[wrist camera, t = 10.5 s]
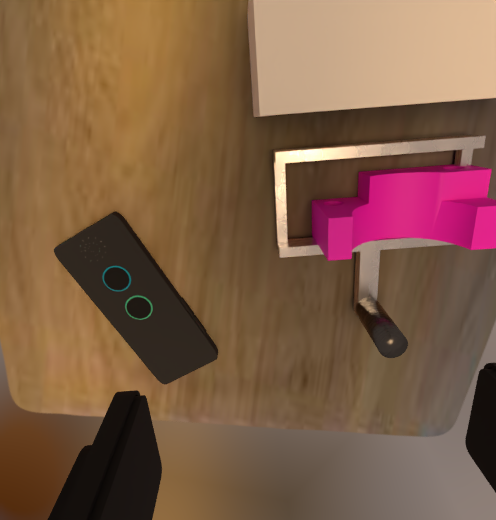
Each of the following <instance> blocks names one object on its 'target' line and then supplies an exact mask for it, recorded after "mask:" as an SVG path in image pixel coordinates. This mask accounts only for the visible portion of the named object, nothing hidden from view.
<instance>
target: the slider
mask: <svg viewBox="0 0 496 520" xmlns="http://www.w3.org/2000/svg"><path fill="white" fill-rule="evenodd" d="M485 137H486V136H479V135H460V136H447V137H434V138H421V139H408V140H396V141H383V142H370V143H357V144H344V145H331V146H318V147H306V148H293V149H280V150H273V166H274V188H275V210H276V232H277V250H278V253H279V256H280V258H282V257H295V256H308V255H321V254H324V253H323V252H322V250H321V249H320V247H319V246H318V244H317V242H316V241H315V239H314V238H313V237H311V238H298V239H288V236H287V207H286V178H285V163H294V162H306V161H319V160H332V159H345V158H358V157H371V156H384V155H397V154H409V153H422V152H435V151H448V150H456V156H455V163H454V165H455V166H471V160H472V154H473V149H474V148H484V143H485ZM451 244H452V243H448V242H443V241H438V240H431V239H422V238H386V239H379V240H373V241H369V242H366V243H363V244H361V245H359V246H357V247H355V248H354V249H353V250H352V252H356V261H355V286H354V312H355V313H356V315H357V317H359V319H360V320H361V322H362V324H363V325H364V327H365V329H366V330H367V332H368V334H369V335H370V337H371V338H372V340H373V342H374V343H375V345H376V347H377V348H378V350H379V352H380V353H381V354H382V355H383V356H384V357H387V358H395V357H398V356H400V355H402V354H403V353H404V352H405V351H406V349H407V346H408V342H407V339H406V338H405V336H404V335H403V334H402V332H401V331H400V330H399V329H398V327H397V326H396V325H395V323H394V322H393V321H392V319H391V318H390V317H389V316H388V314H387V313H386V312H385V310H384V309H383V308H382V306H381V305H380V304H379V302H378V301H377V292H378V277H379V262H380V250H386V249H399V248H412V247H425V246H438V245H451Z"/></svg>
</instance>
